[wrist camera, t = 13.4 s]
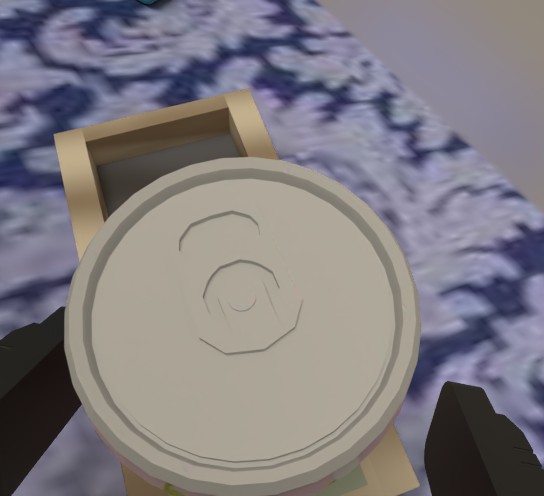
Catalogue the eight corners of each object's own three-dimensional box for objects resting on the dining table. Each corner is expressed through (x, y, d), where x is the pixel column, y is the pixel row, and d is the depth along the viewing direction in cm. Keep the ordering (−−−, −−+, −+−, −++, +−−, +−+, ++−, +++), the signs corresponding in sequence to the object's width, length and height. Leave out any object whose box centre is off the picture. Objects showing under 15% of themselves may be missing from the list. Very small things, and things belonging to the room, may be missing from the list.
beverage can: (250, 336, 23) (240, 90, 9) (350, 428, 21) (512, 288, 8) (153, 435, 21) (-36, 304, 7) (255, 545, 19) (250, 631, 6)
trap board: (68, 162, 30) (52, 132, 27) (248, 117, 32) (248, 85, 29) (159, 587, 21) (147, 597, 18) (403, 488, 23) (421, 486, 20)
